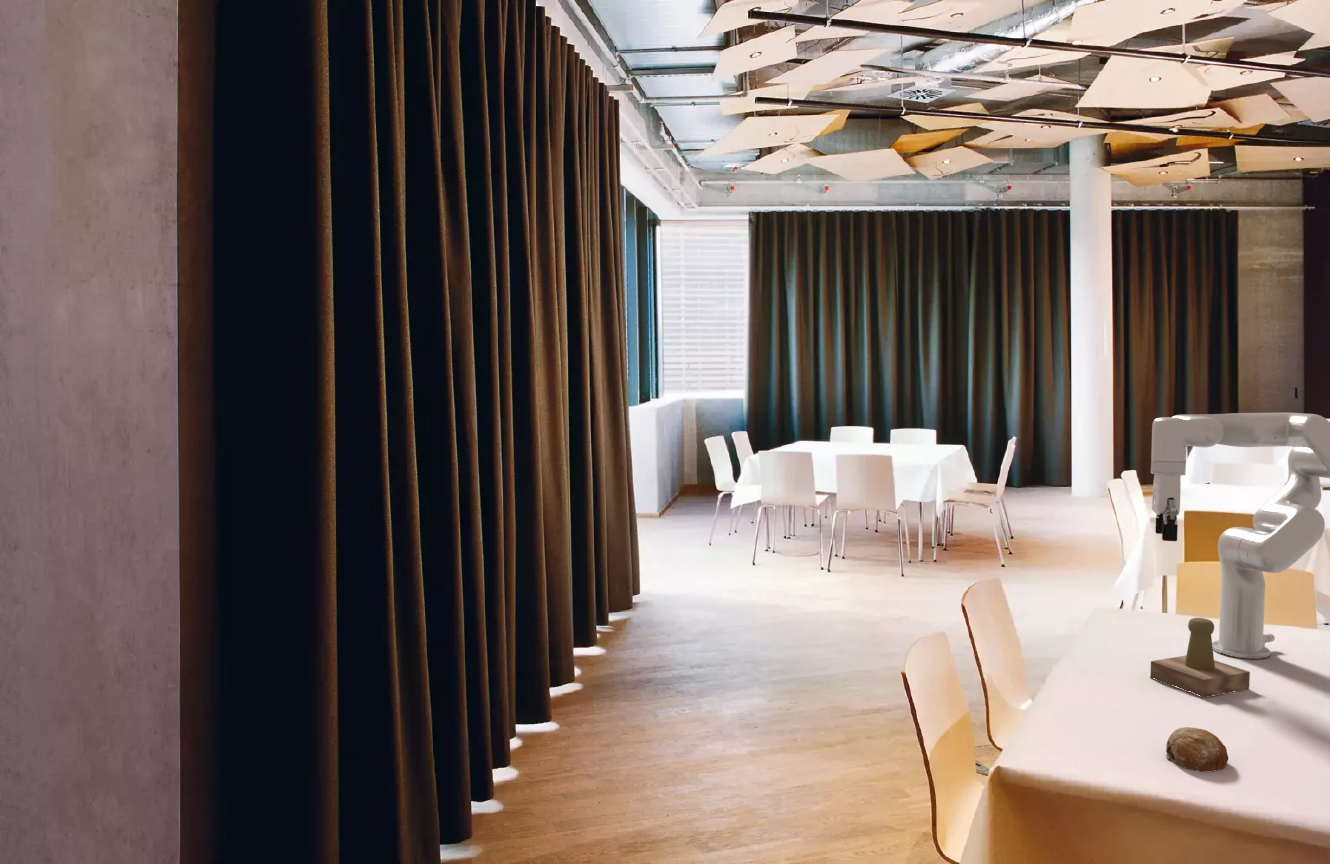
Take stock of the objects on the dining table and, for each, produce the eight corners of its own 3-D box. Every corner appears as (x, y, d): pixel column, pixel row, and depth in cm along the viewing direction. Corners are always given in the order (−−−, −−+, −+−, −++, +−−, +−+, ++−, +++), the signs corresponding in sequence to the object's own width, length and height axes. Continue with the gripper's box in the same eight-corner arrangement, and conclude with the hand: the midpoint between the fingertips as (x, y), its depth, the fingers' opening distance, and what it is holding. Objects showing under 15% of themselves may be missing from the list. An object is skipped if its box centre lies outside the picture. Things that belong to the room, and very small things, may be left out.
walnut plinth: (1194, 670, 227) (1195, 653, 227) (1249, 689, 214) (1249, 671, 214) (1150, 677, 222) (1150, 661, 222) (1203, 697, 209) (1204, 679, 209)
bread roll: (1163, 769, 182) (1147, 733, 181) (1209, 744, 182) (1194, 708, 182) (1196, 792, 172) (1179, 754, 171) (1245, 766, 173) (1229, 728, 172)
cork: (1207, 662, 221) (1209, 615, 220) (1219, 670, 215) (1221, 622, 214) (1180, 661, 221) (1181, 615, 221) (1191, 670, 215) (1193, 622, 215)
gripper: (1145, 463, 243) (1143, 530, 244) (1156, 471, 226) (1154, 542, 228) (1178, 464, 240) (1176, 531, 242) (1192, 472, 224) (1190, 544, 225)
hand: (1165, 537), depth 235 cm, fingers open, 9 cm apart
